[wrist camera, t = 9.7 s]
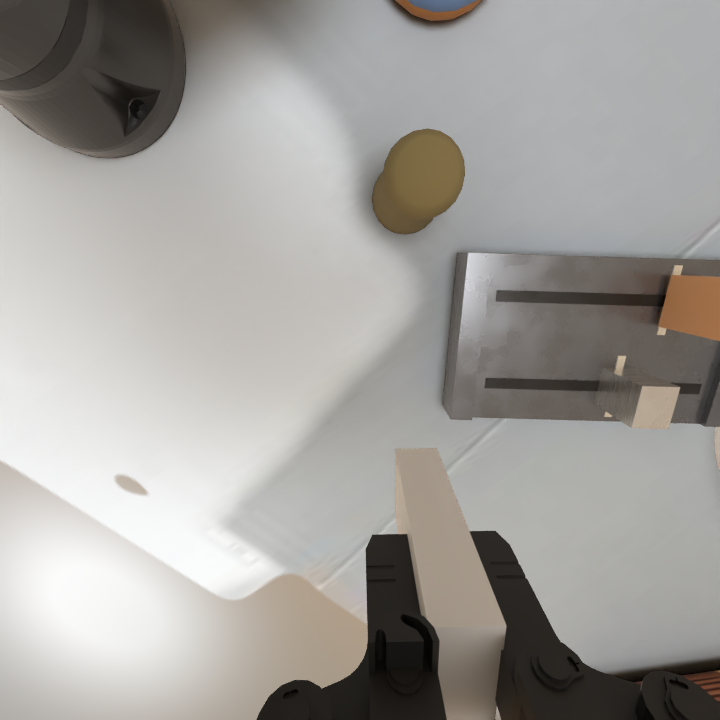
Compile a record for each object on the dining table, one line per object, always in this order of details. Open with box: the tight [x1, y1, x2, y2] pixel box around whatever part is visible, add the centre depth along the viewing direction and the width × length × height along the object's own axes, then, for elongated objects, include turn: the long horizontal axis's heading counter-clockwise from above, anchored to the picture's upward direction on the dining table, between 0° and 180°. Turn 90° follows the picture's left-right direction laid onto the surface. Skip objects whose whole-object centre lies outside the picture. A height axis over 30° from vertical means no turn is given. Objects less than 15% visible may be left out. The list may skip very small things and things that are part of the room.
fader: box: [658, 275, 720, 341], centre depth 28 cm, size 4×3×6 cm
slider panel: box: [443, 253, 720, 429], centre depth 32 cm, size 15×26×8 cm, turn 88°
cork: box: [372, 129, 465, 234], centre depth 27 cm, size 6×6×11 cm
